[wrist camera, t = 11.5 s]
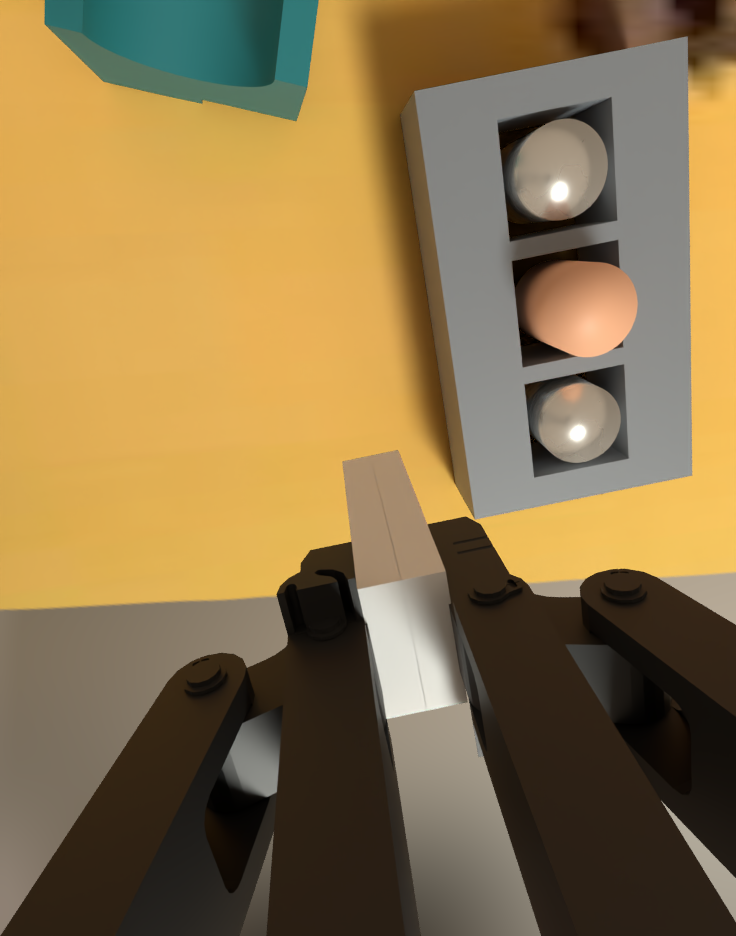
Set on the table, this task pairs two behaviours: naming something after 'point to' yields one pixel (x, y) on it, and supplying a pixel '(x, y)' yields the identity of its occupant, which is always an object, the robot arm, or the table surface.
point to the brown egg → (576, 305)
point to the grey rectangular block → (594, 235)
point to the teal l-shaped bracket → (196, 48)
